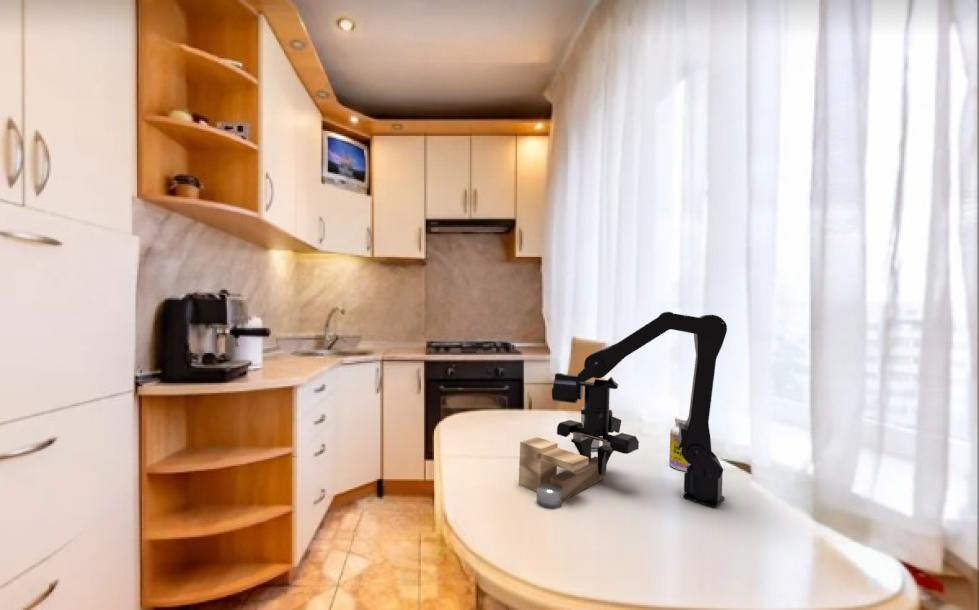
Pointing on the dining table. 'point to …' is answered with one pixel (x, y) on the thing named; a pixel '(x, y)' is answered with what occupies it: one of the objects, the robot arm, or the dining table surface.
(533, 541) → the dining table surface
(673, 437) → the supplement bottle
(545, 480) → the l-shaped wooden block
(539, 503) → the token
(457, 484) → the dining table surface
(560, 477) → the batten
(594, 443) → the energy drink
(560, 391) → the robot arm
